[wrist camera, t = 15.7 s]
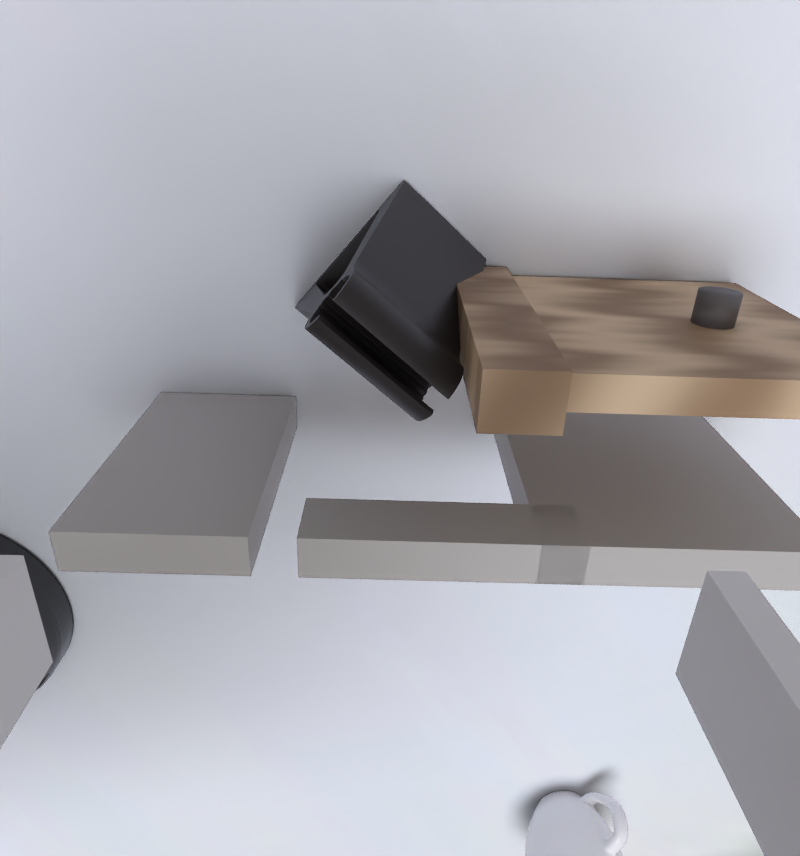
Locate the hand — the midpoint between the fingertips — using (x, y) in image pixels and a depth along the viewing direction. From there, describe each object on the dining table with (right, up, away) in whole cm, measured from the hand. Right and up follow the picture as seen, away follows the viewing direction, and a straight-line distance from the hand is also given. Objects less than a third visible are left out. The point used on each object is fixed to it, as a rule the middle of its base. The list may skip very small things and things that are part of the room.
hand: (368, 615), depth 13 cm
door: (+11, +12, +23) cm, 28 cm away
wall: (+2, +5, +27) cm, 27 cm away
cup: (+15, -28, +43) cm, 54 cm away
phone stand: (0, +12, +23) cm, 26 cm away
